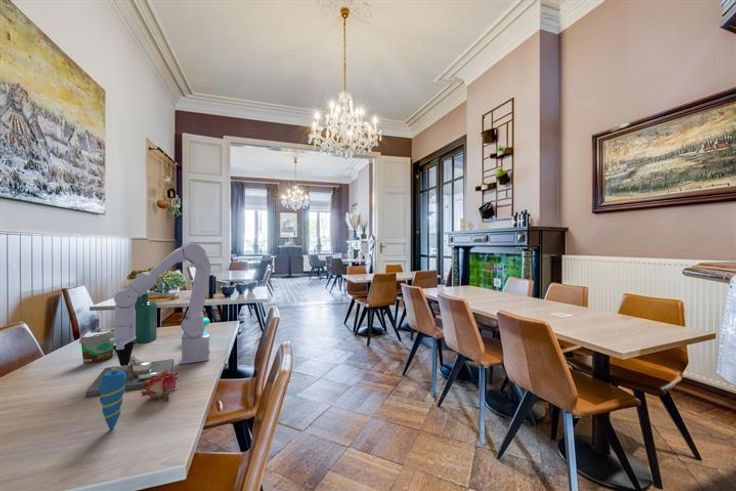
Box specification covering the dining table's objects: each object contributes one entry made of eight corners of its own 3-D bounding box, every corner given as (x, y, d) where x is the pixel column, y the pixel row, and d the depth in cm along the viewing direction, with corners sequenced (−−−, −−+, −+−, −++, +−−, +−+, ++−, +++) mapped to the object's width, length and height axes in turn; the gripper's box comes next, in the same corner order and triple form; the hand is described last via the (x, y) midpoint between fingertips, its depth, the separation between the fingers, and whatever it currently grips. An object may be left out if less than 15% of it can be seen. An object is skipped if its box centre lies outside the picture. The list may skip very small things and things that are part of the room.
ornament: (108, 423, 78) (109, 361, 78) (131, 422, 79) (131, 361, 79) (92, 436, 73) (93, 370, 73) (116, 435, 73) (117, 369, 73)
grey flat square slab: (173, 363, 118) (173, 354, 118) (167, 384, 100) (168, 374, 100) (105, 372, 109) (105, 363, 109) (85, 397, 91) (85, 386, 91)
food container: (92, 366, 114) (92, 338, 114) (78, 365, 116) (79, 337, 116) (125, 355, 126) (125, 329, 126) (112, 353, 128) (112, 328, 128)
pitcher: (138, 338, 149) (139, 290, 149) (158, 337, 150) (158, 290, 150) (125, 344, 139) (125, 293, 139) (146, 344, 140) (146, 293, 140)
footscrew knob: (153, 372, 105) (153, 363, 105) (135, 377, 101) (135, 367, 101) (140, 362, 114) (140, 354, 114) (122, 366, 110) (123, 357, 110)
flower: (191, 390, 93) (183, 364, 95) (162, 397, 84) (154, 368, 87) (167, 405, 94) (159, 380, 97) (136, 414, 86) (129, 386, 88)
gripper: (115, 321, 114) (115, 359, 114) (104, 331, 101) (103, 374, 101) (139, 319, 117) (139, 356, 117) (131, 328, 104) (131, 370, 104)
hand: (124, 364), depth 109 cm, fingers closed
